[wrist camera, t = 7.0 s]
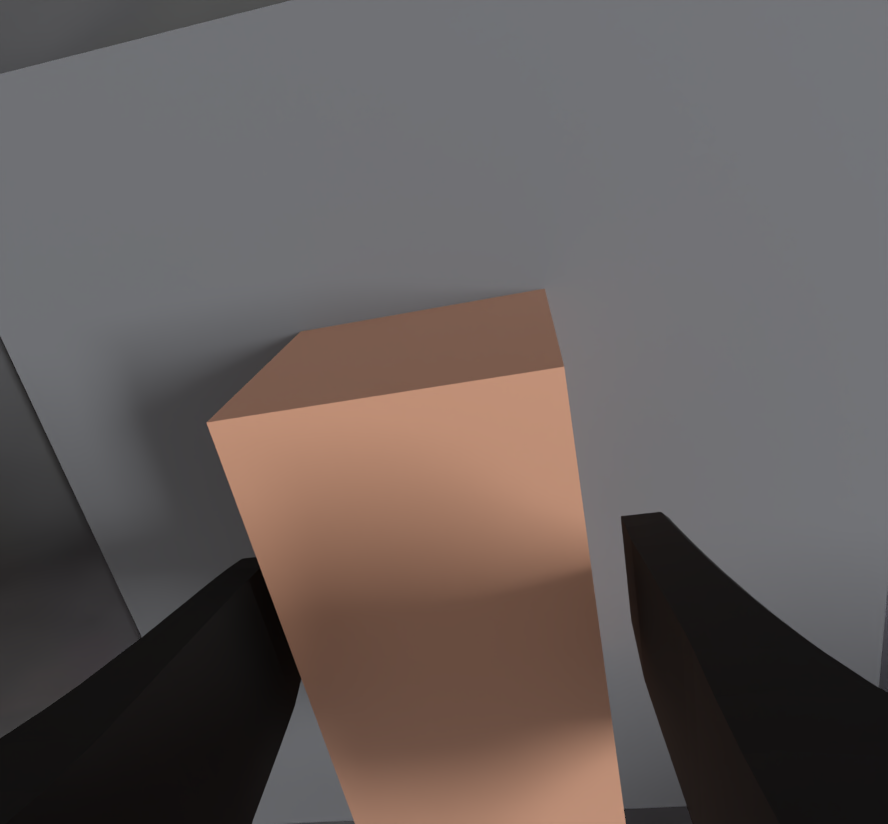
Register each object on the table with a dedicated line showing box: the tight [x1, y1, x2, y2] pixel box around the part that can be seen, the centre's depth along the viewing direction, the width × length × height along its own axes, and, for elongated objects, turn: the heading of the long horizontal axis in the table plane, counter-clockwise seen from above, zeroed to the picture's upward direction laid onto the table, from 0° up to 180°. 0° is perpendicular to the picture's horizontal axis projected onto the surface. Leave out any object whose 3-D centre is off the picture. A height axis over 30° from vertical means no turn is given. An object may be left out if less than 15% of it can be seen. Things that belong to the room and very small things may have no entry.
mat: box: [0, 0, 888, 824], centre depth 13 cm, size 16×18×1 cm
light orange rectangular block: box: [206, 289, 626, 824], centre depth 11 cm, size 8×4×4 cm, turn 11°
